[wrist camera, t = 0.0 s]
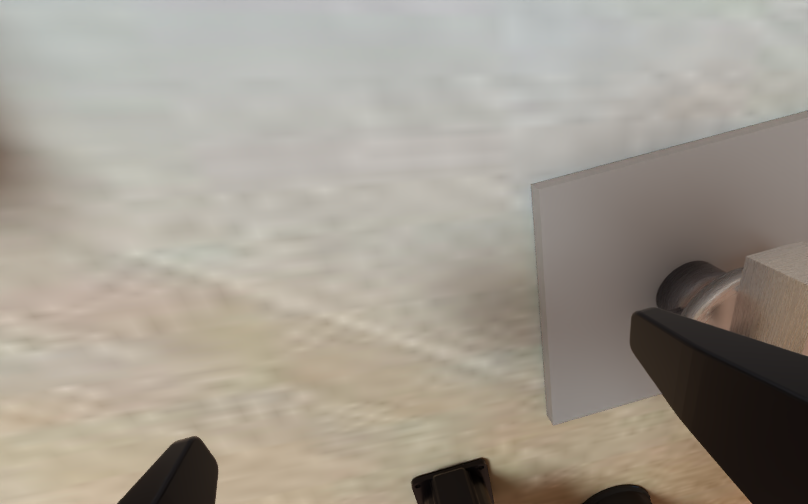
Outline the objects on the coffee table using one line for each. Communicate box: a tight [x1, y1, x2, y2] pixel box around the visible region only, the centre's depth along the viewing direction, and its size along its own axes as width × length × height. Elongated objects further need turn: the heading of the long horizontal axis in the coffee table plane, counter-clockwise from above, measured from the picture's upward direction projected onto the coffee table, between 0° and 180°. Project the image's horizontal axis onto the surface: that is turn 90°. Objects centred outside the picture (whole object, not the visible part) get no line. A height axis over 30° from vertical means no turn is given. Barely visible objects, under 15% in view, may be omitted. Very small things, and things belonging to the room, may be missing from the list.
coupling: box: [681, 241, 808, 356], centre depth 21 cm, size 10×7×5 cm
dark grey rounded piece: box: [656, 261, 727, 315], centre depth 25 cm, size 4×6×3 cm
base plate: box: [531, 111, 808, 425], centre depth 26 cm, size 20×20×1 cm
